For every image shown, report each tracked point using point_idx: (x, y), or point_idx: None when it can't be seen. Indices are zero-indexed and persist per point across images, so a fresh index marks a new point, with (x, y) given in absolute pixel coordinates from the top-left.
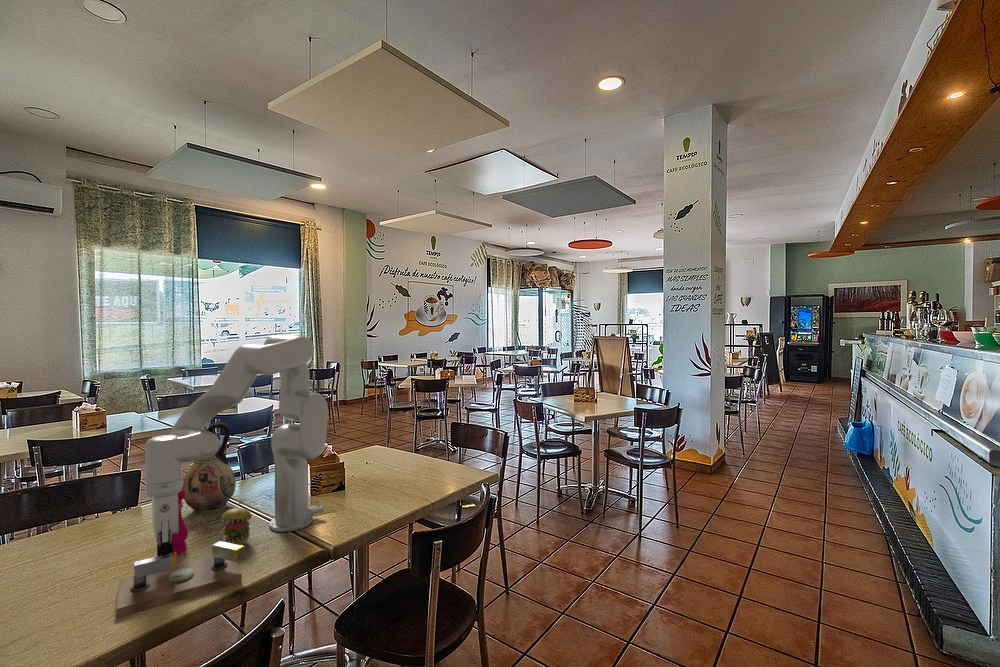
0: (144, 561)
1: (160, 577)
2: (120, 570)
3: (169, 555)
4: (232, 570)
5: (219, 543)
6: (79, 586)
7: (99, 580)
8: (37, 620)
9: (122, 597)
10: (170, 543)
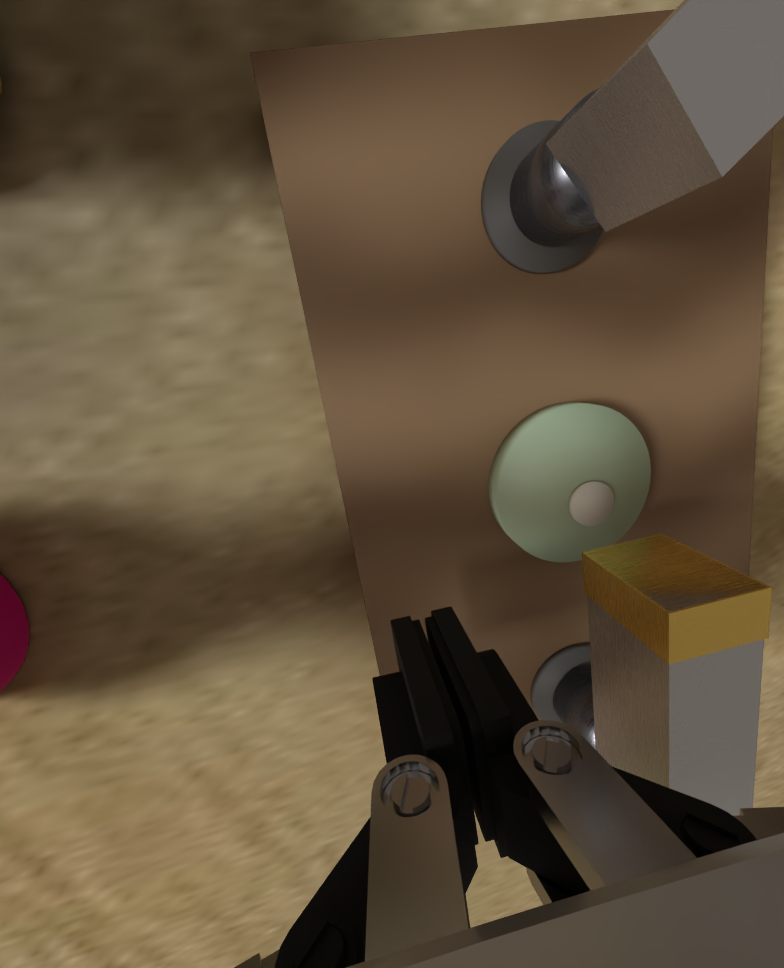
0: None
1: (496, 610)
2: (156, 843)
3: (718, 654)
4: None
5: (730, 56)
6: None
7: (253, 892)
8: None
9: None
10: (575, 739)
